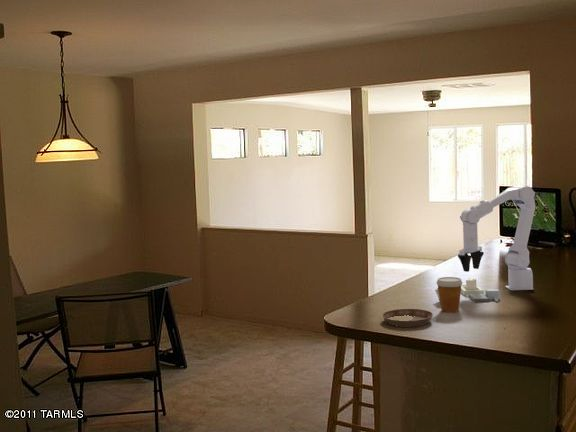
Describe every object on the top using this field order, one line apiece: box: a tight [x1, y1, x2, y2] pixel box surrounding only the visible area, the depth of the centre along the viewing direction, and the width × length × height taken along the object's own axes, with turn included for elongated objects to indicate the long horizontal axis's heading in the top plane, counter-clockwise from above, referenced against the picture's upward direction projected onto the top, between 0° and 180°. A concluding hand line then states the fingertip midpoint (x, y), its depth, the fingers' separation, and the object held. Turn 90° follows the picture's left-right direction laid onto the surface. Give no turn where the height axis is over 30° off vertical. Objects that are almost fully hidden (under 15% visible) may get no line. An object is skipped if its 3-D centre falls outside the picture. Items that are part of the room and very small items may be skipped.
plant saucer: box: [381, 308, 434, 327], centre depth 214 cm, size 18×18×3 cm
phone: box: [468, 293, 490, 303], centre depth 242 cm, size 6×9×1 cm, turn 177°
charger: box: [465, 277, 478, 290], centre depth 254 cm, size 4×4×7 cm
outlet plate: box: [460, 284, 485, 296], centre depth 256 cm, size 8×12×2 cm, turn 177°
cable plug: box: [484, 288, 500, 303], centre depth 240 cm, size 4×8×4 cm, turn 177°
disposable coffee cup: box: [435, 276, 464, 313], centre depth 226 cm, size 10×10×12 cm
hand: (471, 270), depth 253 cm, fingers open, 7 cm apart
